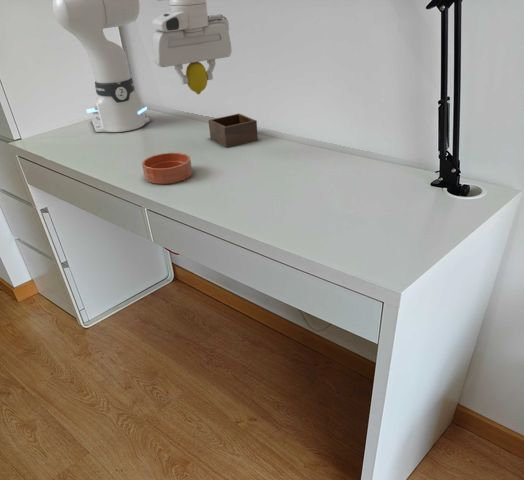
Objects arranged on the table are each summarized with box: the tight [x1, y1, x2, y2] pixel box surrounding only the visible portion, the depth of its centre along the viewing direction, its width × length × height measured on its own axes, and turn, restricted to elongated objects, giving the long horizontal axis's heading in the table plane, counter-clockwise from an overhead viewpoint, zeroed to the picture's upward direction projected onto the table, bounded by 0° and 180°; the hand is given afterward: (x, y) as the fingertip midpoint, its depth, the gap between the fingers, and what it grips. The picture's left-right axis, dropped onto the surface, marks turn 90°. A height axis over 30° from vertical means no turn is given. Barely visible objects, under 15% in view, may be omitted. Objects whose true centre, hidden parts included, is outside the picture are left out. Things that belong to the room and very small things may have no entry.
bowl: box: [141, 152, 193, 185], centre depth 128 cm, size 12×12×4 cm
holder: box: [208, 113, 259, 148], centre depth 149 cm, size 11×11×6 cm
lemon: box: [185, 61, 208, 95], centre depth 129 cm, size 6×6×8 cm
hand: (196, 81), depth 129 cm, fingers closed on lemon, 5 cm apart
